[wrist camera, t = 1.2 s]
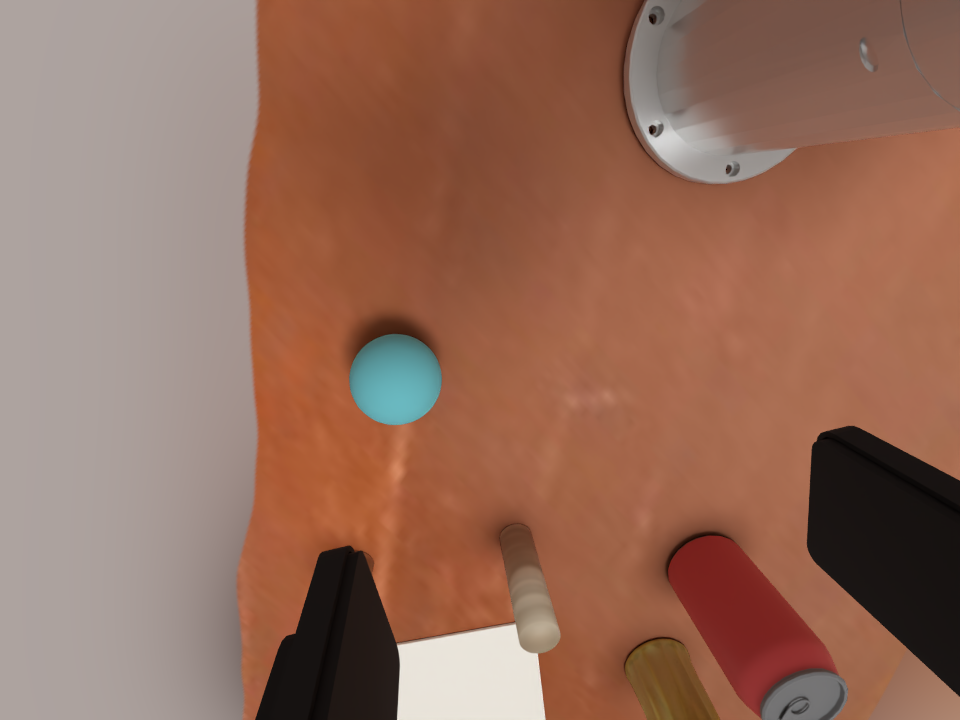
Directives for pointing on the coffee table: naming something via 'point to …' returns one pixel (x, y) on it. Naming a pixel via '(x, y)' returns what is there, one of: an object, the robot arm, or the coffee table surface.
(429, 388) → the ball
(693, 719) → the vase
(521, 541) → the post right
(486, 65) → the coffee table surface
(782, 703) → the beer can
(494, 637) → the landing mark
